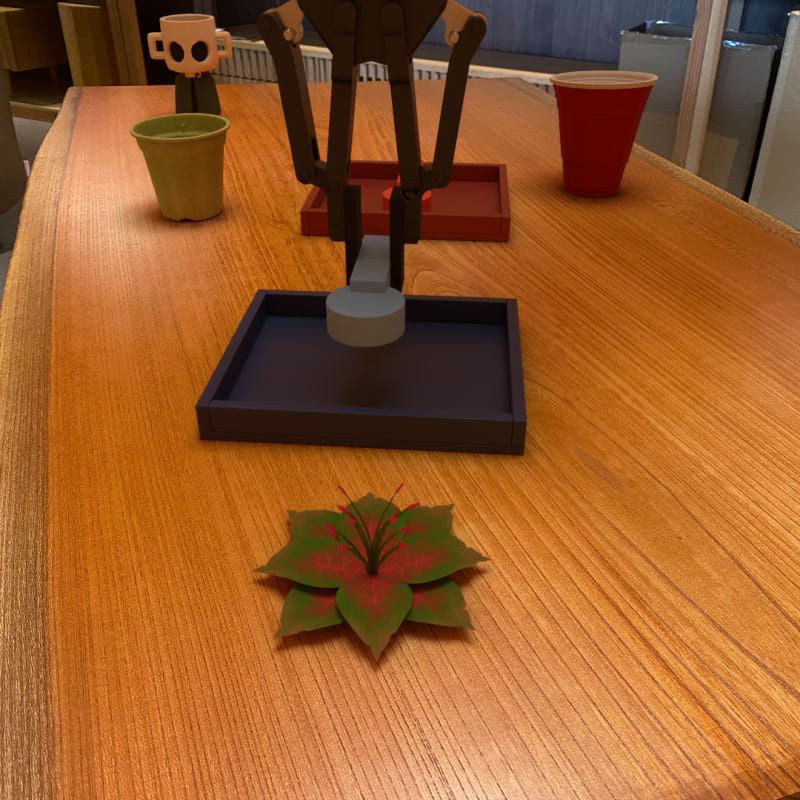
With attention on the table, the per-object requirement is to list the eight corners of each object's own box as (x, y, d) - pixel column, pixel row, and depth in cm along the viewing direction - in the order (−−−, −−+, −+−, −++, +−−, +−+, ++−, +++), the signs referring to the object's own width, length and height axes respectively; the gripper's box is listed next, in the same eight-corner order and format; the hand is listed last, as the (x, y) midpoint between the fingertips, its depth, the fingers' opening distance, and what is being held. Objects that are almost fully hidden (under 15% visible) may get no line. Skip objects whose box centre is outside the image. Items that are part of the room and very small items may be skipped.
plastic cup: (608, 169, 97) (622, 59, 91) (660, 198, 89) (681, 79, 82) (523, 178, 94) (531, 66, 88) (568, 209, 86) (582, 87, 79)
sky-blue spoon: (414, 274, 59) (415, 236, 58) (401, 349, 50) (401, 306, 48) (347, 271, 59) (345, 233, 58) (321, 345, 50) (319, 303, 49)
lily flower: (236, 679, 36) (224, 602, 33) (260, 501, 46) (253, 432, 44) (514, 667, 36) (522, 591, 34) (478, 494, 47) (482, 426, 44)
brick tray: (504, 185, 92) (506, 163, 91) (508, 241, 78) (510, 216, 77) (328, 180, 94) (327, 159, 92) (301, 235, 80) (299, 210, 78)
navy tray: (514, 326, 64) (517, 298, 62) (523, 455, 50) (527, 421, 48) (260, 316, 65) (257, 288, 64) (199, 439, 51) (194, 406, 50)
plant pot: (180, 236, 79) (167, 143, 75) (126, 213, 85) (110, 125, 80) (258, 211, 85) (249, 124, 81) (202, 190, 91) (191, 108, 86)
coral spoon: (435, 186, 90) (435, 160, 89) (429, 222, 81) (430, 194, 79) (390, 185, 91) (390, 159, 89) (380, 220, 81) (380, 192, 80)
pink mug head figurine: (155, 126, 113) (140, 22, 107) (163, 113, 119) (148, 14, 113) (237, 124, 114) (226, 21, 107) (240, 112, 120) (230, 13, 113)
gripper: (208, -127, 41) (251, 306, 54) (519, -126, 40) (489, 316, 53) (245, -127, 48) (276, 260, 60) (514, -126, 47) (489, 268, 59)
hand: (375, 285), depth 56 cm, fingers closed on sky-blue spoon, 2 cm apart
